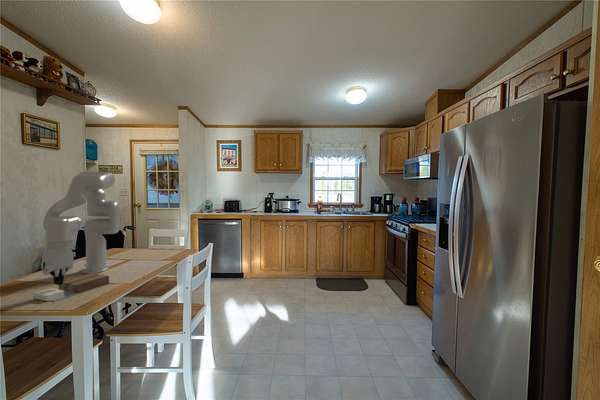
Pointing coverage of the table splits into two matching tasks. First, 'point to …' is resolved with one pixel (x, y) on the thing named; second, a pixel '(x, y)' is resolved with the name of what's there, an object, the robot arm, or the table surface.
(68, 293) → the mat
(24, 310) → the table surface
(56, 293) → the white rectangular block
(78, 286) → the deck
